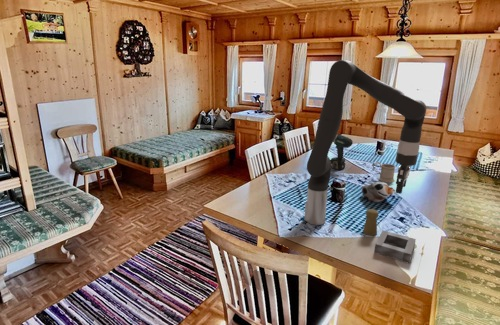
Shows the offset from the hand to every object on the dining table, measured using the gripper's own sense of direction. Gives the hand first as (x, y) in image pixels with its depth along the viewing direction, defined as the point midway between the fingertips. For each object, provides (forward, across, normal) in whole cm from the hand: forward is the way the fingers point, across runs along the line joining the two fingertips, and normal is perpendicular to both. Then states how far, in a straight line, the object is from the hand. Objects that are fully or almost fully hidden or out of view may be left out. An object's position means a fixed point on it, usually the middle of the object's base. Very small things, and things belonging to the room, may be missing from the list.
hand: (400, 189), depth 129 cm
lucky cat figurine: (+24, -42, -15) cm, 51 cm away
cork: (+24, -2, -9) cm, 26 cm away
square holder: (+24, +7, +3) cm, 25 cm away
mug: (+24, -77, -20) cm, 83 cm away
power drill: (+26, -84, -56) cm, 104 cm away
